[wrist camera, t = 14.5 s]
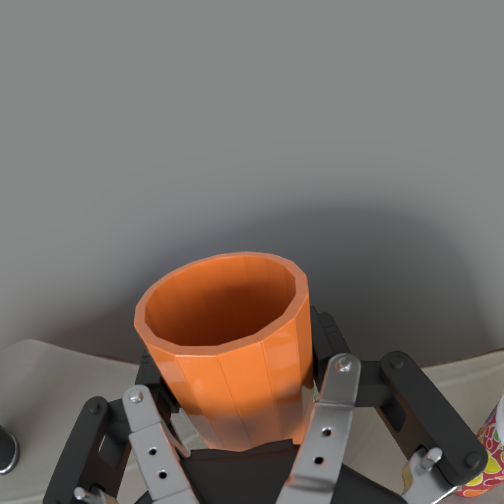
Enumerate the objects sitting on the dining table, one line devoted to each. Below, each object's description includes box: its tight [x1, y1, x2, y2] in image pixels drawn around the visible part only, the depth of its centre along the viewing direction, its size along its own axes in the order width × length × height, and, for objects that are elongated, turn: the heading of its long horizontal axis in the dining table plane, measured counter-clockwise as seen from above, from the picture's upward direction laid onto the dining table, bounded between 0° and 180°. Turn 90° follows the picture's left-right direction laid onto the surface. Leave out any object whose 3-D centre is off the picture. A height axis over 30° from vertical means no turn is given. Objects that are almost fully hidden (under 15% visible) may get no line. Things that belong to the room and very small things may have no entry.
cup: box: [134, 252, 314, 452], centre depth 12 cm, size 6×6×10 cm
